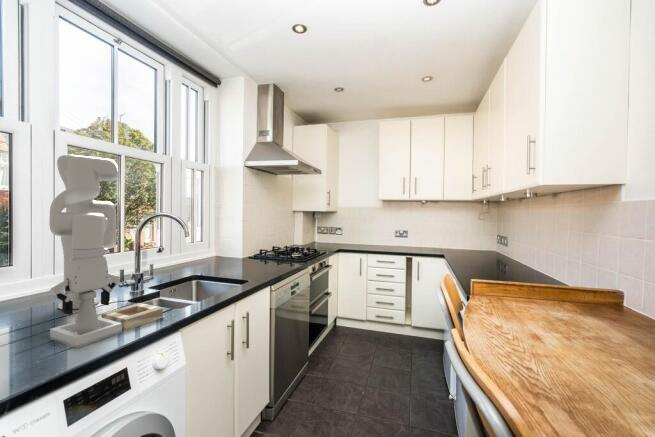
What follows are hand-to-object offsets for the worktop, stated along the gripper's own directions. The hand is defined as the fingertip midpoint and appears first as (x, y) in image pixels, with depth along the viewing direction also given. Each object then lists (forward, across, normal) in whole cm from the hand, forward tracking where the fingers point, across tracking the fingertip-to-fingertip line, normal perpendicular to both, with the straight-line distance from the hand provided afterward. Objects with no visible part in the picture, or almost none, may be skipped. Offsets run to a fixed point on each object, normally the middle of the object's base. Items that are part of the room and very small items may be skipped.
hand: (87, 309), depth 88 cm
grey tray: (+8, 0, 0) cm, 8 cm away
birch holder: (+8, -14, 0) cm, 16 cm away
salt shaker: (+8, 0, 0) cm, 8 cm away
